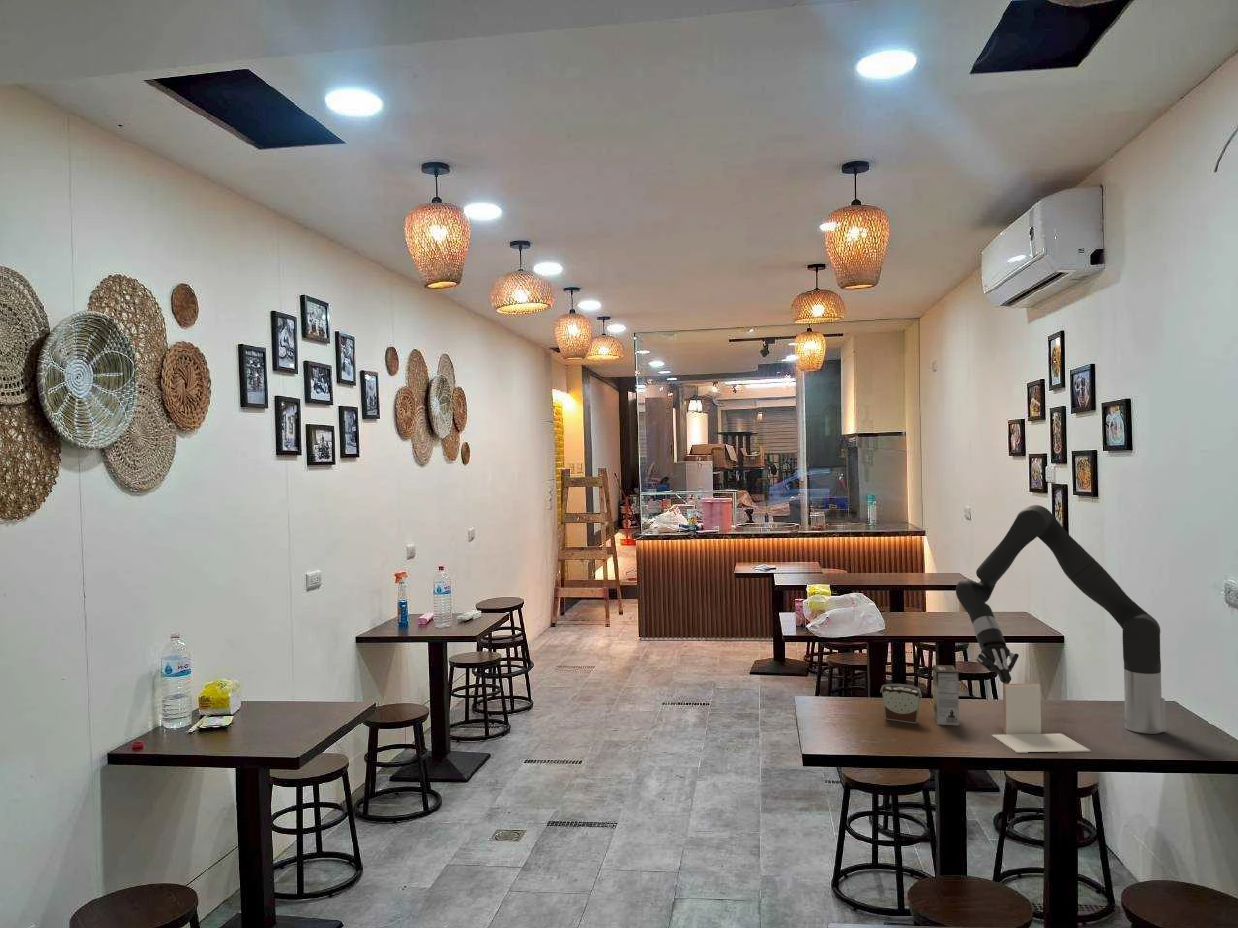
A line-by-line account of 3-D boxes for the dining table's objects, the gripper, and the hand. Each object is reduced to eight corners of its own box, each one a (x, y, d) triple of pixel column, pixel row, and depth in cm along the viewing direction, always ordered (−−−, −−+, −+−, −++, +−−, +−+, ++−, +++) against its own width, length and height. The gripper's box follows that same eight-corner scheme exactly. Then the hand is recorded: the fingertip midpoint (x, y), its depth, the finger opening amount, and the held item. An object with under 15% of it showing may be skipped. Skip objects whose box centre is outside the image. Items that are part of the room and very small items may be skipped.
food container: (926, 719, 263) (926, 686, 263) (921, 724, 258) (921, 690, 258) (885, 713, 270) (885, 681, 270) (880, 718, 264) (879, 685, 264)
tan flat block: (1037, 731, 249) (1036, 683, 249) (1041, 733, 247) (1040, 684, 247) (1003, 732, 249) (1002, 683, 249) (1006, 734, 247) (1005, 685, 247)
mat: (1061, 734, 246) (1061, 733, 246) (1090, 751, 231) (1090, 750, 231) (991, 735, 245) (991, 734, 245) (1016, 753, 230) (1016, 751, 230)
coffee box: (932, 716, 266) (931, 664, 266) (954, 717, 265) (953, 664, 265) (937, 724, 257) (936, 671, 257) (960, 725, 256) (959, 671, 256)
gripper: (970, 627, 267) (988, 676, 255) (1013, 626, 267) (1033, 675, 255) (964, 641, 272) (981, 689, 260) (1005, 640, 272) (1025, 688, 260)
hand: (1007, 682), depth 257 cm, fingers closed
